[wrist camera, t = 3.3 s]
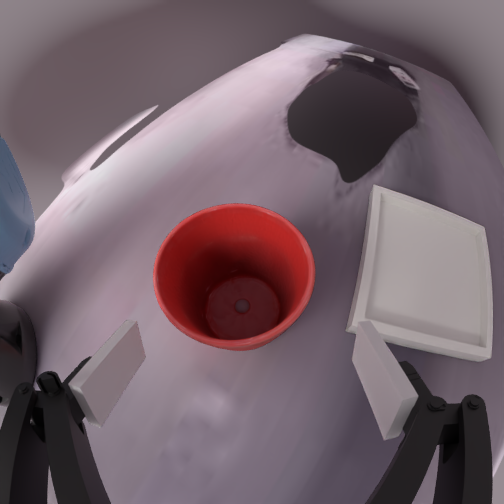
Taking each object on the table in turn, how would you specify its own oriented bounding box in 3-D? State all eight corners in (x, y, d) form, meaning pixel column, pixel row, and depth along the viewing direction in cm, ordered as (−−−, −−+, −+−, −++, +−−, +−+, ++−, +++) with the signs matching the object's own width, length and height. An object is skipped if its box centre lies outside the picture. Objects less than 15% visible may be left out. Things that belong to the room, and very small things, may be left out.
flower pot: (239, 243, 30) (228, 180, 21) (321, 305, 26) (346, 257, 17) (168, 312, 26) (124, 268, 18) (248, 389, 22) (235, 385, 14)
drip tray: (345, 331, 24) (351, 325, 22) (369, 196, 32) (373, 184, 30) (479, 362, 20) (491, 358, 18) (476, 235, 28) (484, 227, 26)
